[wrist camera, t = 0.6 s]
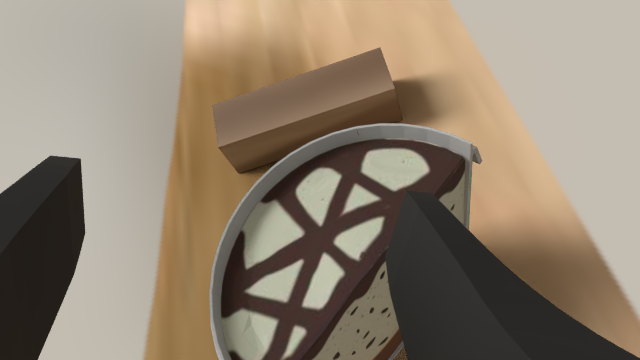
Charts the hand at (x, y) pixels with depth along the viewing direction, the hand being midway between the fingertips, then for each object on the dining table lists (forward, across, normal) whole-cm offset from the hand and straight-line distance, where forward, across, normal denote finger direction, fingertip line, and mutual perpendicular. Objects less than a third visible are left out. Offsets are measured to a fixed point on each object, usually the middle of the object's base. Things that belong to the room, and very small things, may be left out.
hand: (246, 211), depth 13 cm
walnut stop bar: (+20, -4, +8) cm, 22 cm away
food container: (+10, -7, +12) cm, 17 cm away
